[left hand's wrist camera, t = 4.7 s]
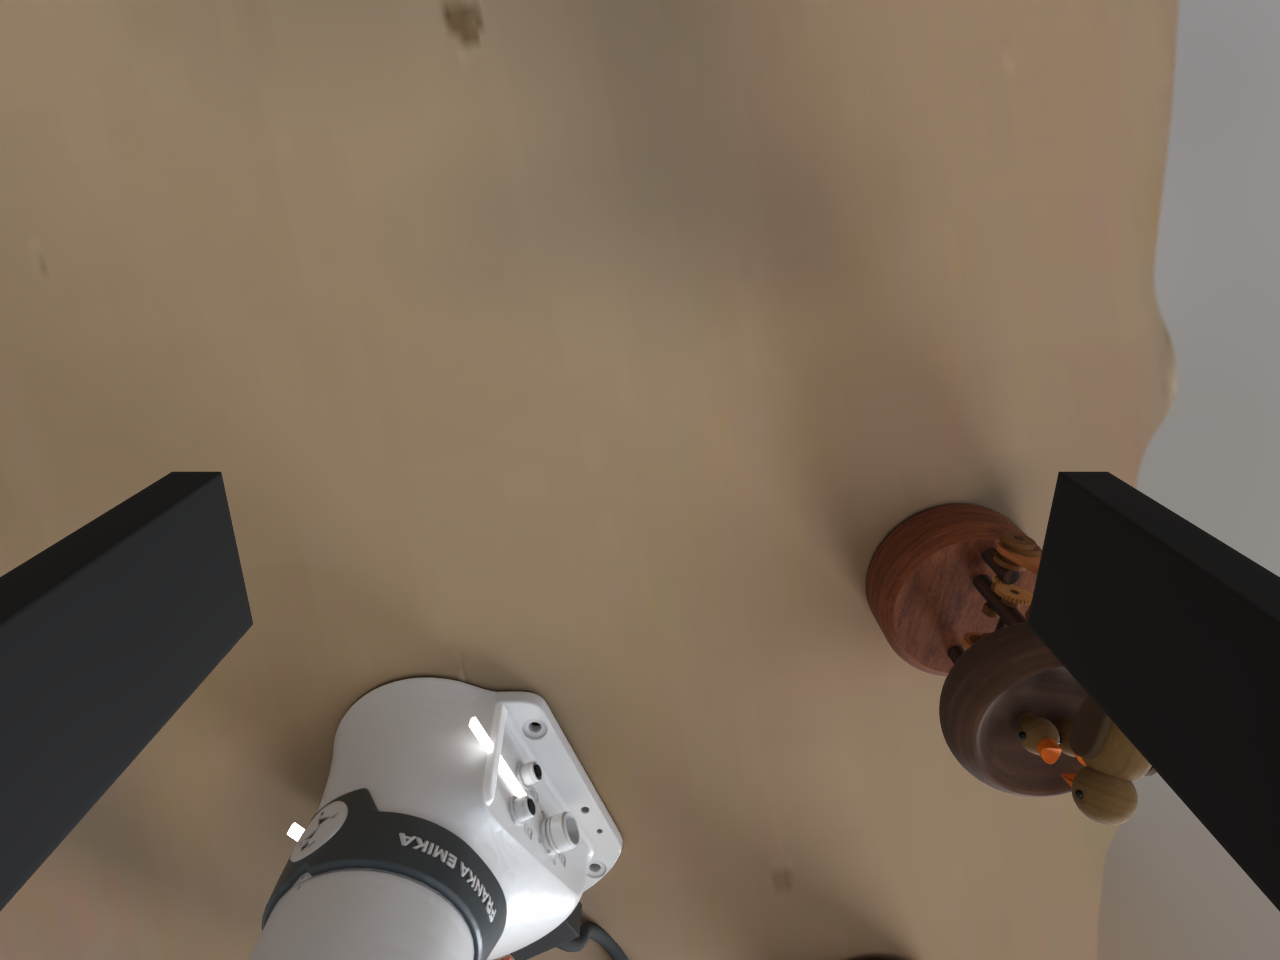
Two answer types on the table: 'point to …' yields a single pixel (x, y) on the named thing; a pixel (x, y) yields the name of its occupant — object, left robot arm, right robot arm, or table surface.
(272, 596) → the table surface
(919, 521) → the music box
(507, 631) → the table surface
